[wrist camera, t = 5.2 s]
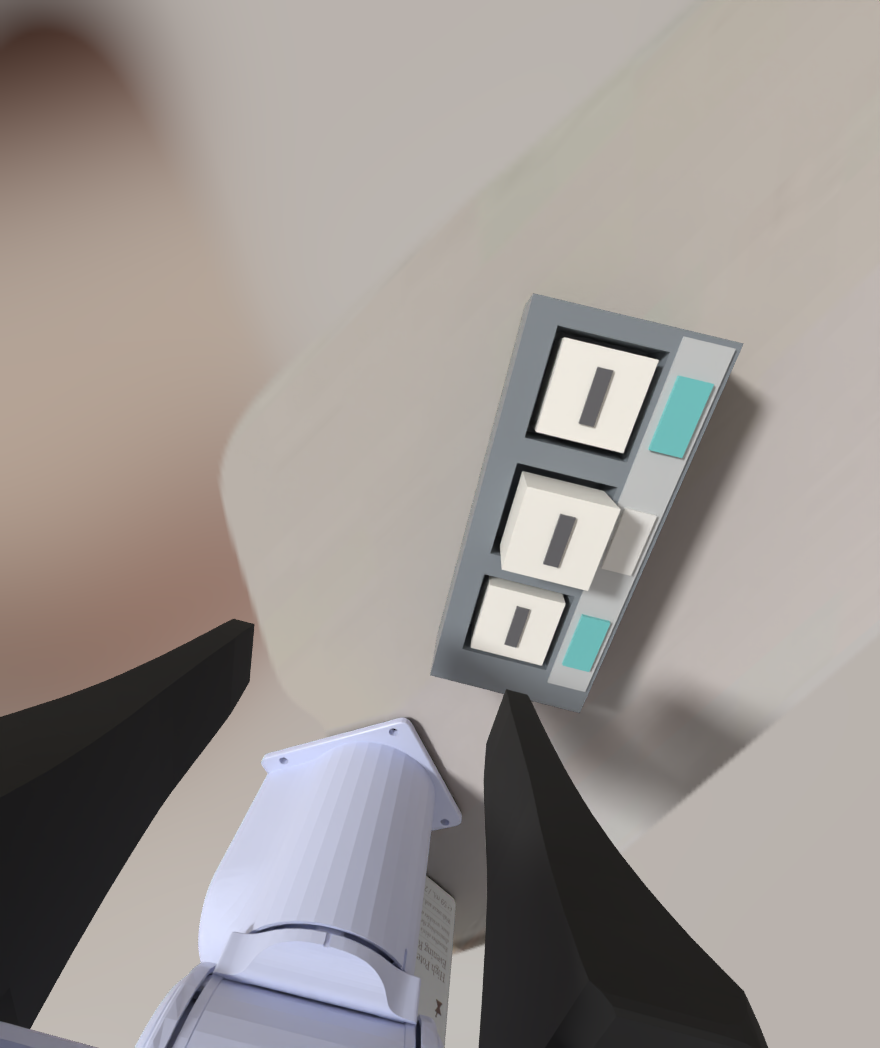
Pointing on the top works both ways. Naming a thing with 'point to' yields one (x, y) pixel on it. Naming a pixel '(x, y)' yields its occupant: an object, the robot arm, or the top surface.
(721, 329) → the top surface
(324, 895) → the robot arm
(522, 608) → the button
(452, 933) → the skincare box
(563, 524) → the button middle
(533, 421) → the button
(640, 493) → the console
